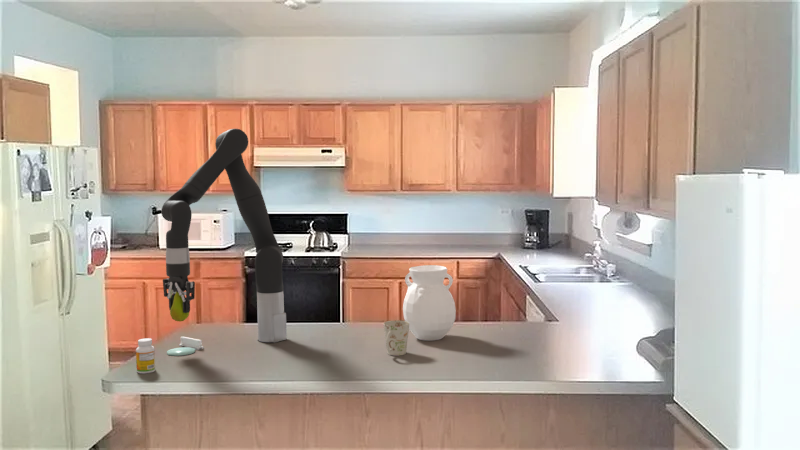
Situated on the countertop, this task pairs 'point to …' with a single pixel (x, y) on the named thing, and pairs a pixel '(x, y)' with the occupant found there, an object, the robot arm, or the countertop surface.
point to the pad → (181, 351)
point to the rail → (191, 343)
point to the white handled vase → (429, 302)
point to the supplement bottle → (145, 356)
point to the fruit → (178, 309)
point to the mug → (396, 337)
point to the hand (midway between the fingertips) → (179, 311)
